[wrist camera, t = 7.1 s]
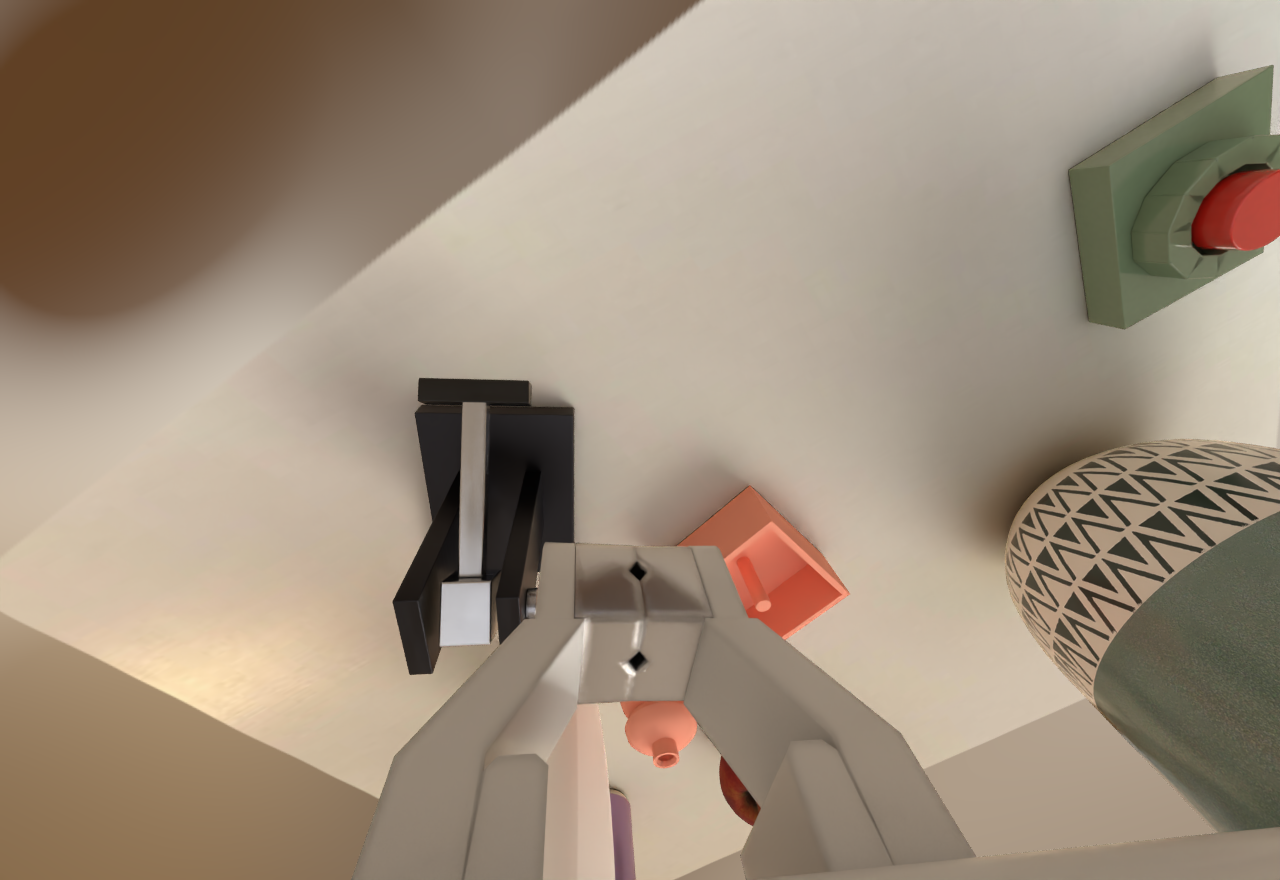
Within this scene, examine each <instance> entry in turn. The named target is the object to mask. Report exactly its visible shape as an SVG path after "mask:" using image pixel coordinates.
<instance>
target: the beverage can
mask: <svg viewBox="0 0 1280 880" xmlns="http://www.w3.org/2000/svg"><path fill="white" fill-rule="evenodd" d="M609 792H610V802H611V816H612V831H613V846H614V865H615V880H636V876H635V863H634V850H633V837H632V823H631V810H630V804H629V802H628V800H627V798H626V797H625V796H624V795H623V794H622V793H621V792H619V791H617V790H613V789H609Z"/></svg>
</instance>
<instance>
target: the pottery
mask: <svg viewBox="0 0 1280 880" xmlns="http://www.w3.org/2000/svg"><path fill="white" fill-rule="evenodd" d="M677 546H686V547H688V546H717V547H718V548H719V549H720V551H721V553H722V556H723V558H724V560H725V563H726V565H727V568H728V570H729V572H730V575H731V577H732V579H733V582H734V584H735V587H736V589H737V591H738V594H739V596H740V598H741V601H742V603H743V606H744V608H745V610H746V613H747V615H748V617H749V618H758V619H759V620H761V621H762V622H763V623H764V624H766V625H767V626H768V627H769V628H770V629H772V630H773V631H774V632H775V633H777V634H778V635H779V636H780V637H782V638H783V639H784V640H786V639H787V638H789V637H790V636H791V635H793V634H794V633H796V632H797V631H798V630H800V629H801V628H803V627H804V626H806V625H807V624H808V623H810V622H811V621H813V620H814V619H815V618H817V617H818V616H820V615H821V614H823V613H824V612H825V611H827V610H828V609H830V608H831V607H833V606H834V605H835V604H837V603H838V602H840V601H841V600H842V599H844V598H845V597H847V596H848V595H850V593H849V592H848V590H847V589H846V587H845V586H844V584H843V583H842V582H841V580H840V579H839V577H838V576H837V575H836V573H835V572H834V570H833V569H832V567H831V566H830V565H829V563H828V562H827V560H826V559H825V558H824V556H823V555H822V554H821V553H820V552H819V551H818V550H817V549H816V548H815V547H814V546H813V545H812V544H811V543H810V542H809V541H808V540H807V539H806V538H805V537H803V536H802V535H801V534H800V533H799V532H798V531H797V530H796V529H795V528H794V527H793V526H792V525H791V524H790V523H789V522H788V521H787V520H786V519H785V518H784V517H782V516H781V515H780V514H779V513H778V512H777V511H776V510H775V509H774V508H773V507H772V506H771V505H770V504H769V503H768V502H767V501H766V500H765V499H764V498H763V497H761V496H760V495H759V494H758V493H757V492H756V491H755V490H754V489H753V488H752V487H751V486H749V487H747V488H746V489H745V490H744V491H743V492H741V493H740V494H739V495H738V496H737V497H735V498H734V499H733V500H732V501H730V502H729V503H728V504H727V505H726V506H724V507H723V508H722V509H721V510H720V511H718V512H717V513H716V514H715V515H714V516H712V517H711V518H710V519H709V520H708V521H706V522H705V523H704V524H703V525H701V526H700V527H699V528H698V529H697V530H695V531H694V532H693V533H692V534H691V535H689V536H688V537H687V538H686V539H685V540H683V541H682V542H681V543H680V544H678V545H677ZM620 703H621V706H622V709H623V712H624V714H625V715H626V717H627V718H628V720H627V723H626V726H625V733H626V736H627V739H628V742H629V743H630V745H631V746H632V747H633V748H634V749H636V750H637V751H639V752H641V753H643V754H645V755H649V756H653V762H654V765H655V766H656V767H659V768H669V767H672V766H674V765H676V764H677V763H678V761H679V755H678V751H680V750H682V749H683V748H684V747H686V746H687V745H688V744H689V742H690V741H691V740H692V739H693V737H694V736H695V734H696V730H697V722H696V720H695V719H694V717H693V716H692V715H691V713H690V712H689V711H688V709H687V708H686V707H685V705H684V704H683V703H684V701H624V702H620Z"/></svg>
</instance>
